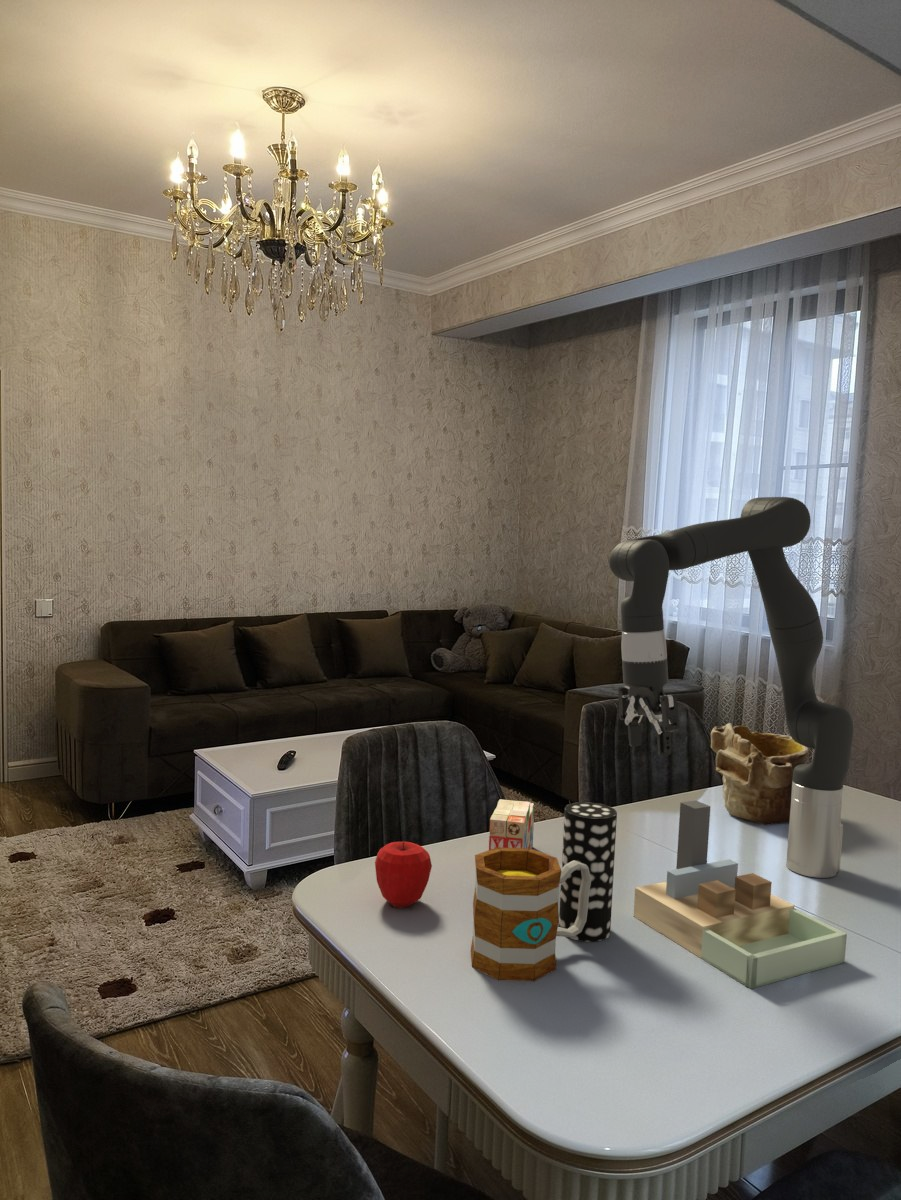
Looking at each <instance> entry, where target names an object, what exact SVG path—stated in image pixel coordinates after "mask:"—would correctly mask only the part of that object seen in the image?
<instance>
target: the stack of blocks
mask: <svg viewBox="0 0 901 1200" xmlns="http://www.w3.org/2000/svg"><path fill="white" fill-rule="evenodd" d="M534 811H535V804H534V803H533V802H531V801H526V800H525V801H524V800H522V801H521V800H513V799H512V800H508V799H499V800H498V801H497V805H496V808H495V809H494V811H493V813H492V815H491V816H490V818H489V836H488V838H489V839H488V850H491V849H494V848H497V847H502V848H530V849H533V846H534V829H535V828H534V827H535V825H534V824H535V823H534V822H535V819H534V818H535V817H534Z"/></svg>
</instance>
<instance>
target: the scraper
mask: <svg viewBox="0 0 901 1200" xmlns="http://www.w3.org/2000/svg"><path fill="white" fill-rule="evenodd" d="M710 817H711V806H710V805H709V804H705V803H703V802H701V801H698V800H689V801H682V802H680V805H679V820H678V822H679V823H678V834H677V835H678V837H677V851H676V852H677V854H676V869H670V870H667V872H666V881H667V885H666V895H668V896H670V897H672V898H673V899H677V898H681V897H686V896H691V895H696V894H698V887H699V884H702V883H707V882H711V881H716V880H718V881H720V882H722V883H724V884H725V885H727V886H729V887H734V886H735V877H736V876H738V871H739V870H738V869H739V863H738V862H736V861H734V860H732V859H729V858H727V859H724V860H723V859H722V860H717V861H714V862H708V849H709V848H708V847H709V836H710V835H709V834H710V833H709V832H710V822H711V821H710V820H711V819H710ZM707 862H708V863H707Z"/></svg>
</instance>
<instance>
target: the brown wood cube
mask: <svg viewBox="0 0 901 1200" xmlns="http://www.w3.org/2000/svg"><path fill="white" fill-rule="evenodd" d="M734 889H735V890H736V892H735V901H736V902H738V903H740V904H742V905H744V906H746V907H748V908H750V909H752V910H754V909H758V908H762V907H767V906H770V898H771V894H772V881H770V880H769V879H767V878H764V877H762V876H760V875H758V874H755V873H753V872H751V873H747V874H743V875H737V876H736V877H735V888H734Z"/></svg>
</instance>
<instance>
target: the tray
mask: <svg viewBox="0 0 901 1200" xmlns="http://www.w3.org/2000/svg"><path fill="white" fill-rule="evenodd" d="M847 937H848V936H847V933H845V932H844V931H841V930H839V929H837V928H835V927H833V926H831V925H829V924H827V923H825V922H823V921H822V920H820V919H817V918H815V917H813V916H811V915H809V914H807V913H806V912H802V911H801V910H799V909H798V908H797V909H796V908H795V907H794V908H793V909H790V917H789V931H788V934H784V935H781V936H777V937H773V938H769V939H765V940H761V941H757V942H753V943H749V944H745V945H741V946H737V945H735V944H733V943H732V942H730V941H728V940H726V939H725V938H723V937H721V936H719V935H718V934H716V933H714V932H712V931H711V930H709V929H704V930H703V934H702V950H701V958H700V959H702V960H703V961H704V962H706V963H708V964H710V965H712V966H713V967H714V968H716V969H718V970H720V971H721V972H722V973H723V974H726V975H727V976H729V977H731V978H732V979H734V980H735V981H737V982H739V983H740V984H742V985H743V986H744V987H747V988H748V989H750V990H752V989H756V988H759V987H762V986H766V985H770V984H772V983H776V982H781V981H784V980H788V979H790V978H794V977H797V976H801V975H804V974H807V973H811V972H814V971H819V970H823V969H826V968H829V967H833V966H835V965H839V964H843V963H845V961H846V949H847Z"/></svg>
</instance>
